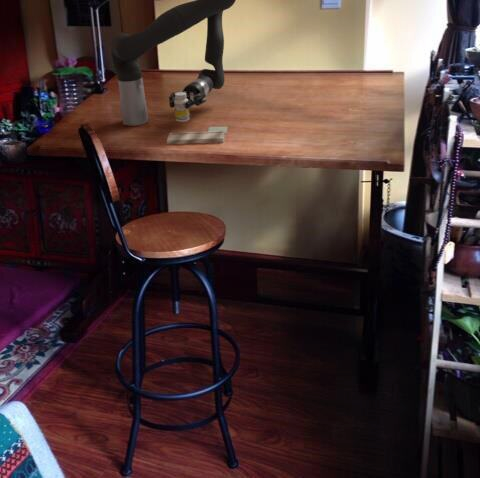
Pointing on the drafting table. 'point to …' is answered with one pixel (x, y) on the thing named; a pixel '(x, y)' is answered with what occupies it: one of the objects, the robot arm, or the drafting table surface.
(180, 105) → the supplement bottle
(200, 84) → the robot arm
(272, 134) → the drafting table surface
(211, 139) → the birch board
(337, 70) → the drafting table surface
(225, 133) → the end pad
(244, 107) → the drafting table surface
